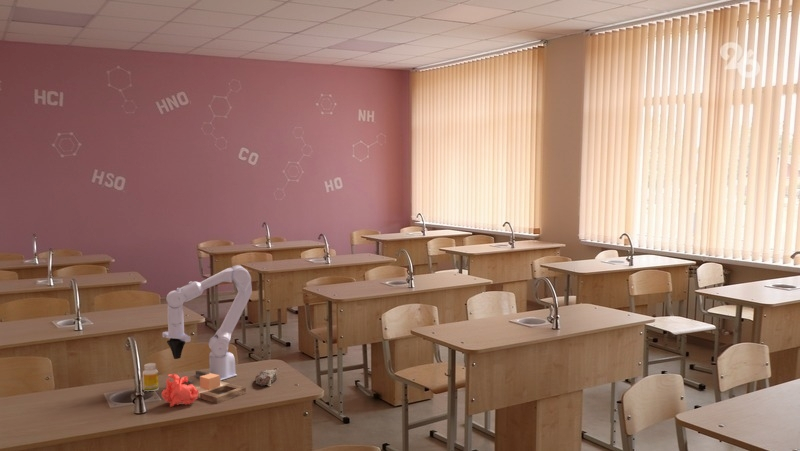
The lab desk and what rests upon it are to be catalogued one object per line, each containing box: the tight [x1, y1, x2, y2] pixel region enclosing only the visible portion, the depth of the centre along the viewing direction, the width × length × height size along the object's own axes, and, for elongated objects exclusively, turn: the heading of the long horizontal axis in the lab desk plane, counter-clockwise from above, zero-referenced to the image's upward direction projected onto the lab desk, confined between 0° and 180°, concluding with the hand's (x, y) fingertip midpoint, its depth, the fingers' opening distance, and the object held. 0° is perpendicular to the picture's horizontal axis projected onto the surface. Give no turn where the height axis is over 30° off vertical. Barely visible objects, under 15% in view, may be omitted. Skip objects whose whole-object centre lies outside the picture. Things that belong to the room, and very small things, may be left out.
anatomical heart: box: [161, 373, 199, 408], centre depth 233 cm, size 9×12×12 cm
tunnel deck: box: [171, 370, 247, 404], centre depth 247 cm, size 13×28×4 cm, turn 54°
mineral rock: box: [254, 369, 278, 388], centre depth 257 cm, size 15×8×4 cm, turn 172°
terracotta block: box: [200, 372, 220, 390], centre depth 246 cm, size 5×5×4 cm
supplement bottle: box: [142, 362, 160, 392], centre depth 249 cm, size 5×5×10 cm
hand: (177, 358), depth 257 cm, fingers closed
